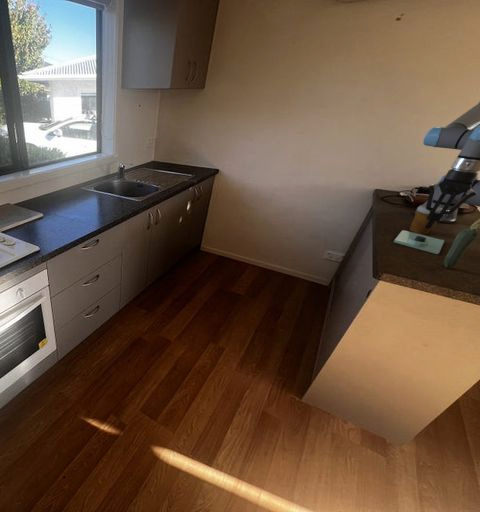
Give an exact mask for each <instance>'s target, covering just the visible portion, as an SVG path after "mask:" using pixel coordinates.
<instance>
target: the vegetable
mask: <svg viewBox="0 0 480 512" xmlns="http://www.w3.org/2000/svg"><path fill="white" fill-rule="evenodd" d="M478 229H480V217H479V218H478V219H477V220H475V222H474V223H473V224H471V226H470V227H467V228H464V229H462V230H461V231H460V232H459V233H457V236H456V237H455V239H454V240H453V242H452V245H451V247H450V248H449V250H448V251H447V254H446V255H445V258H444V261H443V265H444V267H445V268H448V269H452V268H453V267H455V266H456V265H458V264H459V262H460V261H461V259H462V257H463V255H464V253H465V252H466V250H467V249H468V248H469V247H470V246H471V245H472V244H473V243H474V242H475V241H476V240H477V238H478V237H479V230H478Z"/></svg>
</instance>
